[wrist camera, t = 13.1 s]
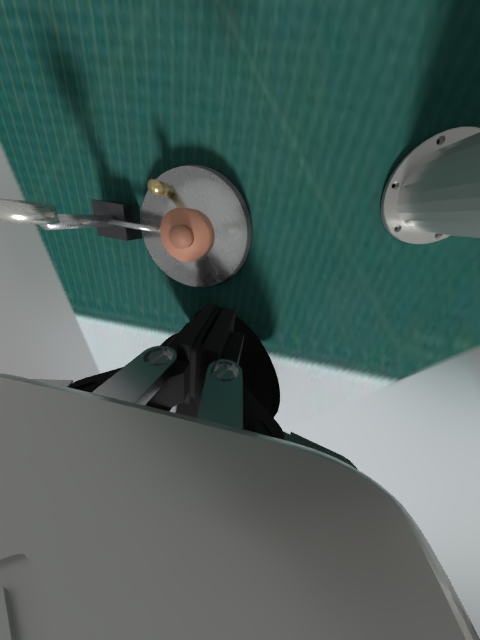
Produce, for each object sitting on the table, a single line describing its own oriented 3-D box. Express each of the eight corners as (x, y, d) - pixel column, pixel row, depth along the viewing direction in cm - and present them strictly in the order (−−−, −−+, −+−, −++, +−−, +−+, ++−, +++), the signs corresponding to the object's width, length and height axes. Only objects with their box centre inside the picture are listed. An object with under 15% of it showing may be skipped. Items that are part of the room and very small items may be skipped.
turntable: (213, 139, 26) (199, 121, 21) (265, 258, 32) (264, 266, 27) (125, 208, 31) (99, 206, 27) (184, 298, 37) (170, 310, 33)
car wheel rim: (182, 320, 42) (116, 394, 24) (213, 291, 37) (161, 355, 20) (244, 378, 47) (227, 474, 29) (278, 358, 42) (282, 456, 25)
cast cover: (198, 198, 28) (184, 194, 24) (223, 244, 30) (214, 248, 26) (162, 224, 30) (143, 225, 26) (188, 265, 33) (175, 272, 28)
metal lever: (179, 212, 32) (87, 208, 16) (179, 244, 34) (99, 268, 19) (110, 201, 33) (-40, 186, 17) (115, 233, 35) (-13, 246, 19)
